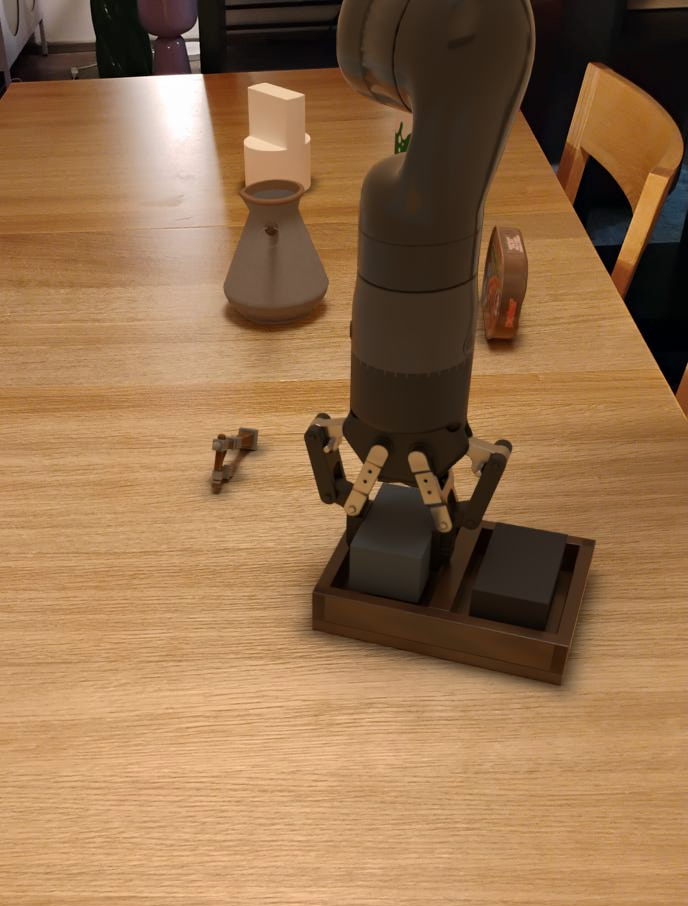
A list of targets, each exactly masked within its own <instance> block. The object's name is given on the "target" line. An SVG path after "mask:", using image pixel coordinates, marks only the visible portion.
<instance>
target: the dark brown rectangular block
mask: <svg viewBox="0 0 688 906" xmlns="http://www.w3.org/2000/svg"><path fill="white" fill-rule="evenodd" d="M495 522H496V525H495V528H494V530H493V533H492V536H491V539H490V541H489V544H488V547H487V549H486V552H485V555H484V558H483V560H482V563H481V566H480V569H479V571H478V574H477V577H476V580H475V582H474V585H473V588H472V594H471V601H470V609H469V616H471V617H476V618H481V619H486V620H490V621H495V622H500V623H505V624H509V625H514V626H519V627H524V628H528V629H533V630H538V631H543V632H544V631H545V627H546V624H547V620H548V616H549V613H550V609H551V606H552V602H553V598H554V595H555V591H556V587H557V584H558V580H559V576H560V571H561V566H562V562H563V557H564V552H565V547H566V542H567V537H568V535H569V534H567V533H563V532H558V531H551V530H546V529H540V528H534V527H529V526H522V525H519V524H518V525H516V524H512V523H506V522H500V521H495Z"/></svg>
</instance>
